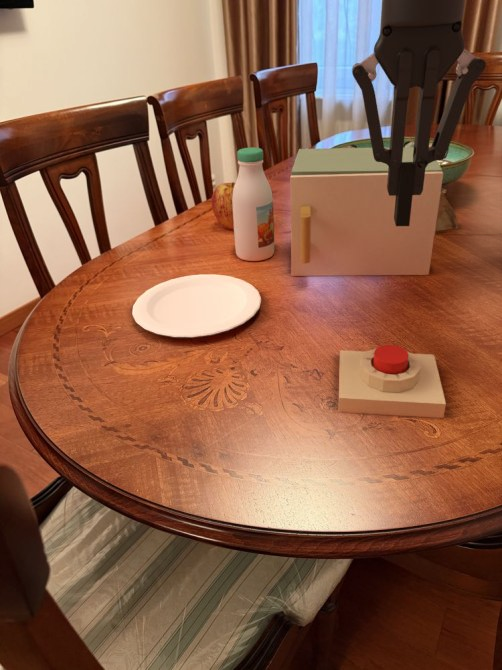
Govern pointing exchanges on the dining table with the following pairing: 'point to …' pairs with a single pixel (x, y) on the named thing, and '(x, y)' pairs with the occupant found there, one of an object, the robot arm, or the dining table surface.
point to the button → (390, 359)
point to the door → (359, 226)
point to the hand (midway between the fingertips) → (401, 221)
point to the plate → (196, 306)
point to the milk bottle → (252, 208)
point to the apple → (224, 204)
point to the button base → (390, 386)
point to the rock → (445, 216)
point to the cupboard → (347, 161)
